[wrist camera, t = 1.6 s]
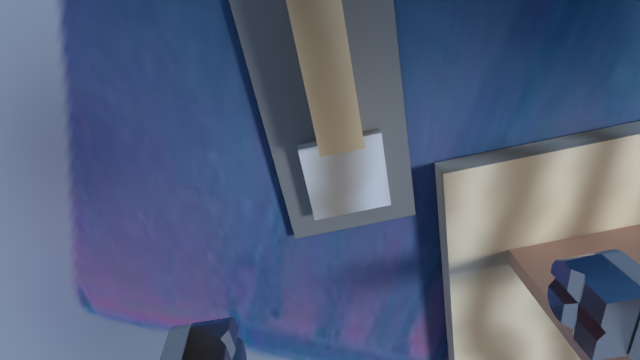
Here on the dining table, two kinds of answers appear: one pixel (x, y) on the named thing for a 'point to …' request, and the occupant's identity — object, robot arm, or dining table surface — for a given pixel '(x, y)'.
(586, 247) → the tile
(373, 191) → the turner
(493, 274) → the board
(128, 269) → the dining table surface
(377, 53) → the mat
